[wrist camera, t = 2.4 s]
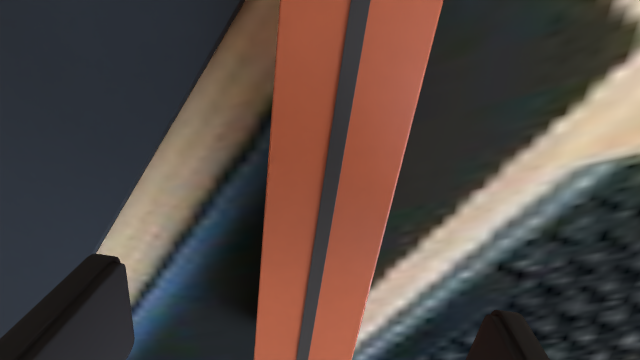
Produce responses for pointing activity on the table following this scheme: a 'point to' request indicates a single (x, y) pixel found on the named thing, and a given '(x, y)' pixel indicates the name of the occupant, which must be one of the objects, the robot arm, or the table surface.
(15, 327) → the robot arm
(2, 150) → the mat
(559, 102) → the table surface
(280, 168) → the pencil case
